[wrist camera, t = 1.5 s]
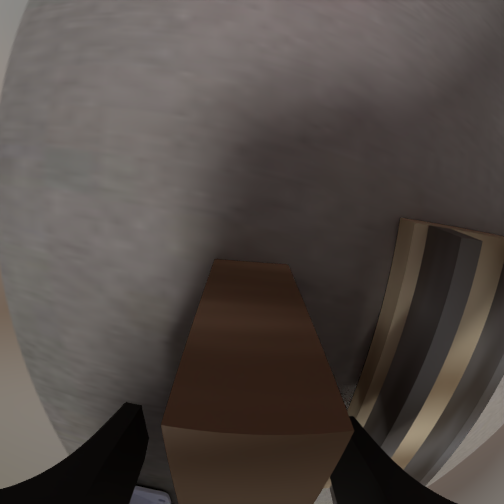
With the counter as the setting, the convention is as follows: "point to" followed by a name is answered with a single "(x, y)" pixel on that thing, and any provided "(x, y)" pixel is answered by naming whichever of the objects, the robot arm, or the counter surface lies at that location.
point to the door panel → (253, 395)
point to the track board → (433, 345)
